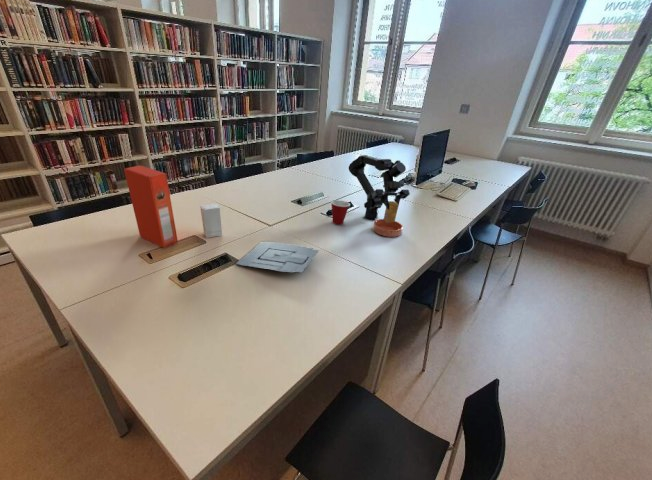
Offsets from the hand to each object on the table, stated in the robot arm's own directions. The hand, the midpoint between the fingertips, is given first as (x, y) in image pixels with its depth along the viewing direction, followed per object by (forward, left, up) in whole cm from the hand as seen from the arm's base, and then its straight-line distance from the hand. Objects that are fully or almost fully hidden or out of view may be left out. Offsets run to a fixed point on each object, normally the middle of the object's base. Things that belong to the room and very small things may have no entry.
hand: (392, 209), depth 166 cm
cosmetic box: (-76, -51, -14) cm, 93 cm away
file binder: (-93, -69, -14) cm, 117 cm away
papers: (-36, -56, -14) cm, 68 cm away
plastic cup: (-28, -2, -14) cm, 31 cm away
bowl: (-1, +2, -13) cm, 14 cm away
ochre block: (-1, +1, -7) cm, 7 cm away
